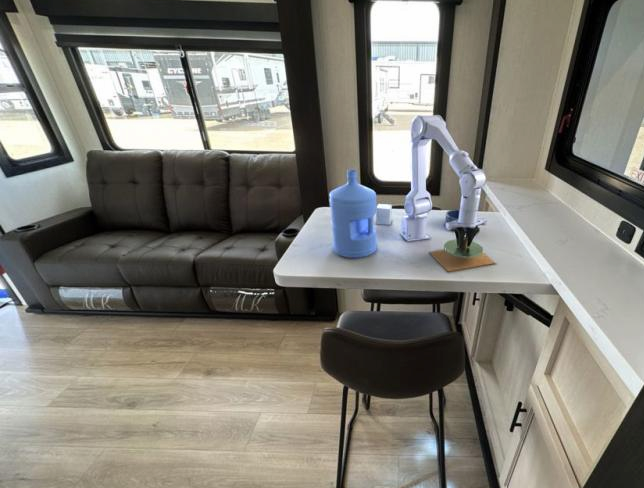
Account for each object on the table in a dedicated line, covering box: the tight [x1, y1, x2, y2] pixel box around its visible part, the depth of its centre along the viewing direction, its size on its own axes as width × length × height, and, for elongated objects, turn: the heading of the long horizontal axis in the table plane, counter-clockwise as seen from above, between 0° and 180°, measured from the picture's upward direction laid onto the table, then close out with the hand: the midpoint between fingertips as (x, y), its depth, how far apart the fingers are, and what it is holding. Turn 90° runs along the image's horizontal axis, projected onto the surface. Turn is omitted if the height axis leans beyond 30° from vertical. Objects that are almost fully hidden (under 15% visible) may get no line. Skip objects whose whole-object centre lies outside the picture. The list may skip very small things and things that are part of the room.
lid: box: [443, 236, 484, 258], centre depth 105 cm, size 13×13×5 cm
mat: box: [429, 249, 495, 273], centre depth 108 cm, size 18×14×1 cm
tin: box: [444, 209, 466, 232], centre depth 132 cm, size 12×12×6 cm
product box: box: [375, 203, 393, 226], centre depth 133 cm, size 6×6×7 cm
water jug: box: [329, 169, 378, 259], centre depth 105 cm, size 16×16×28 cm
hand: (463, 246), depth 106 cm, fingers closed on lid, 2 cm apart
